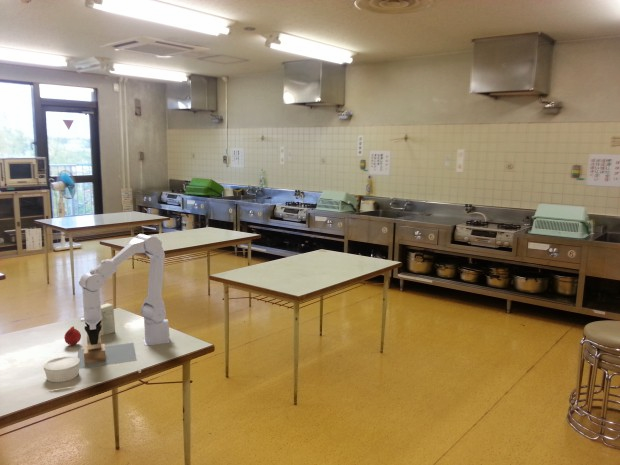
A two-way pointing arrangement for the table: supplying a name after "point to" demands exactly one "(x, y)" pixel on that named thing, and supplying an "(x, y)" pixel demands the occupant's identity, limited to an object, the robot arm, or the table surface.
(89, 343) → the birch block
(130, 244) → the robot arm
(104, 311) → the skincare box
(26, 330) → the table surface
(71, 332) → the onion
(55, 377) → the ramekin
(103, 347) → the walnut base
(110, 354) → the mat
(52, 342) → the table surface
